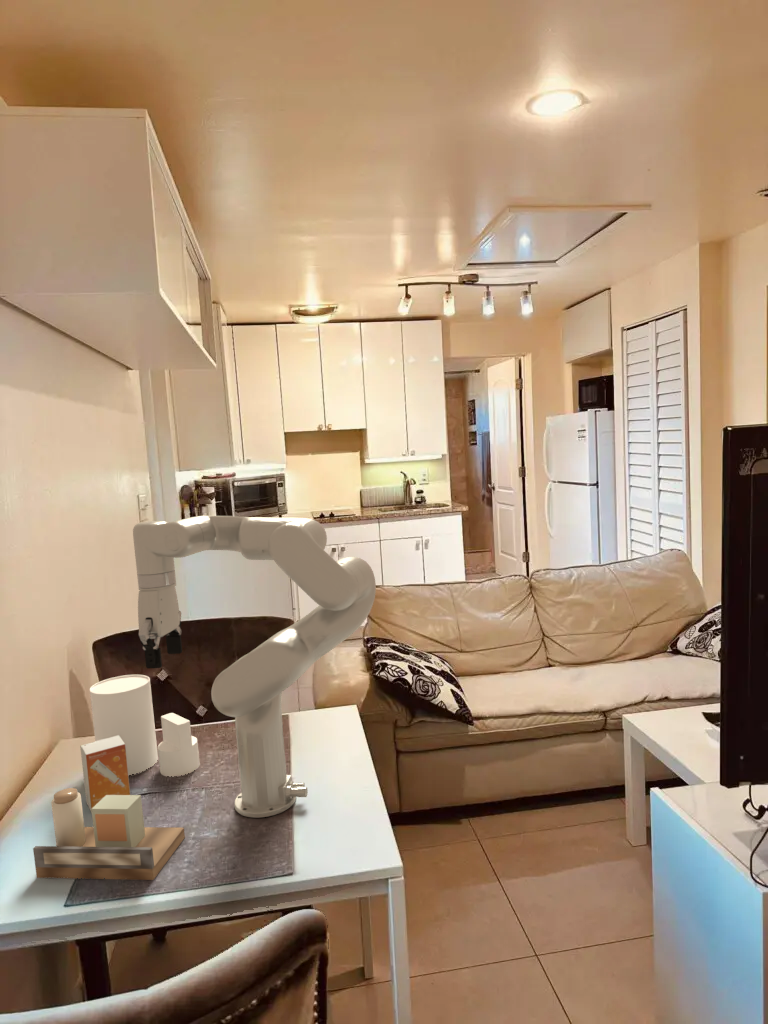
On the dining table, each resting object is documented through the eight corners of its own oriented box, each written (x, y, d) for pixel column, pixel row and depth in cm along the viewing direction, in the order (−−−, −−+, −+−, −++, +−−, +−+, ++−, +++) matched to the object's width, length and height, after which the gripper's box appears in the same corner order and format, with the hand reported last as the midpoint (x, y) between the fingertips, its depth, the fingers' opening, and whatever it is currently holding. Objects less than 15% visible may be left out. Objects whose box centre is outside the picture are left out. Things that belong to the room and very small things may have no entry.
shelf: (184, 837, 131) (182, 810, 131) (153, 880, 118) (149, 850, 118) (78, 836, 134) (75, 809, 134) (35, 878, 121) (32, 849, 121)
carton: (110, 835, 130) (106, 794, 130) (145, 835, 129) (140, 795, 129) (95, 851, 125) (90, 809, 125) (131, 851, 124) (126, 809, 124)
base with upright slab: (153, 769, 162) (148, 720, 161) (188, 755, 168) (183, 708, 167) (171, 780, 156) (166, 729, 155) (206, 766, 162) (202, 716, 161)
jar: (91, 837, 130) (85, 786, 129) (76, 852, 125) (70, 800, 124) (66, 836, 131) (61, 786, 130) (50, 852, 126) (44, 800, 125)
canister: (85, 774, 162) (76, 692, 160) (124, 750, 174) (116, 673, 173) (133, 779, 157) (124, 695, 156) (169, 754, 170) (161, 675, 168)
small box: (91, 815, 143) (84, 754, 141) (86, 803, 148) (79, 744, 147) (131, 801, 147) (125, 743, 146) (125, 790, 152) (118, 734, 151)
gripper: (158, 573, 152) (166, 648, 154) (118, 589, 135) (127, 674, 137) (191, 572, 151) (198, 647, 153) (154, 588, 134) (163, 673, 136)
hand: (165, 660), depth 145 cm, fingers open, 9 cm apart
